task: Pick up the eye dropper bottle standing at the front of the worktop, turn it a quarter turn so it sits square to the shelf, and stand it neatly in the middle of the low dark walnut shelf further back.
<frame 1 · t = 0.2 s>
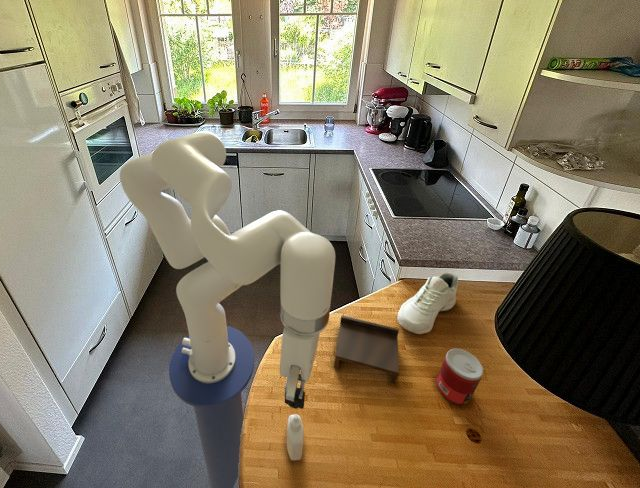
hand: (300, 376, 57), 28 cm above the countertop, tool pointing down, fingers open, 9 cm apart
running shoe: (423, 312, 104), on the countertop
shelf: (365, 355, 91), on the countertop
canned food: (452, 390, 83), on the countertop
eye dropper bottle: (294, 446, 72), on the countertop
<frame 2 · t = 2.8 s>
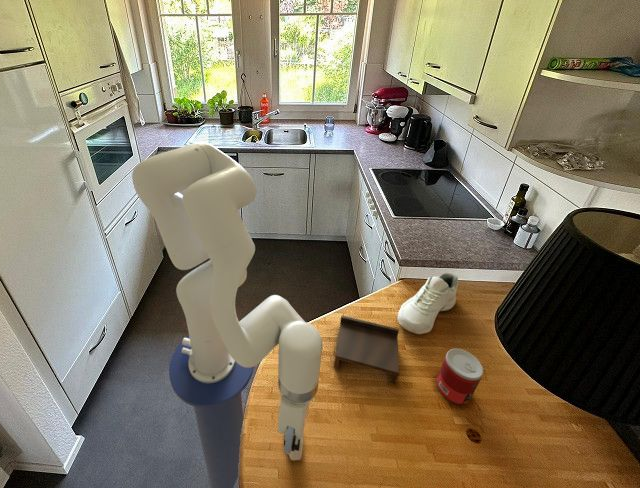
hand: (295, 429, 69), 7 cm above the countertop, tool pointing down, fingers closed on eye dropper bottle, 5 cm apart
eye dropper bottle: (294, 446, 72), on the countertop, touching gripper
everything else where it was.
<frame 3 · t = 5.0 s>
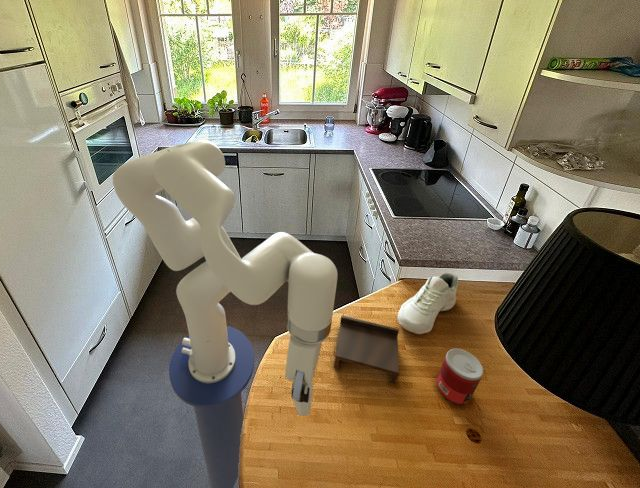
hand: (303, 382, 63), 21 cm above the countertop, tool pointing down, fingers closed on eye dropper bottle, 5 cm apart
eye dropper bottle: (302, 402, 67), point 14 cm above the countertop, touching gripper
everything else where it was.
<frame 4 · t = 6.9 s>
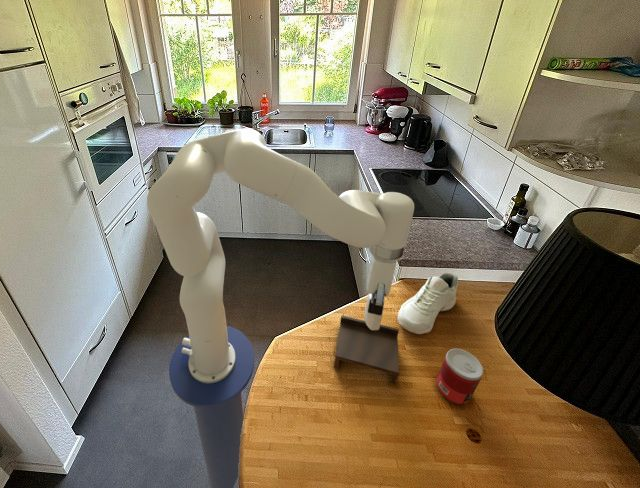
hand: (375, 302, 80), 22 cm above the countertop, tool pointing down, fingers closed on eye dropper bottle, 5 cm apart
eye dropper bottle: (371, 322, 84), point 15 cm above the countertop, touching gripper
everything else where it was.
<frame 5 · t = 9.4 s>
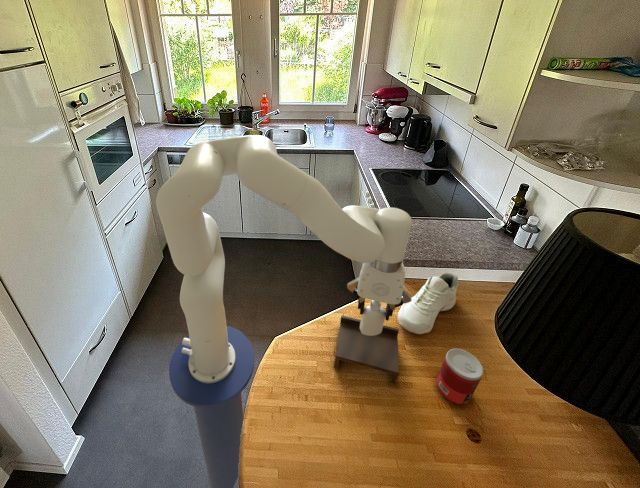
hand: (374, 312, 83), 17 cm above the countertop, tool pointing down, fingers closed on eye dropper bottle, 5 cm apart
eye dropper bottle: (370, 331, 86), point 10 cm above the countertop, touching gripper
everything else where it was.
when the fingers open (12 cm above the countertop, at t = 11.2 s): eye dropper bottle stays where it is, resting on shelf.
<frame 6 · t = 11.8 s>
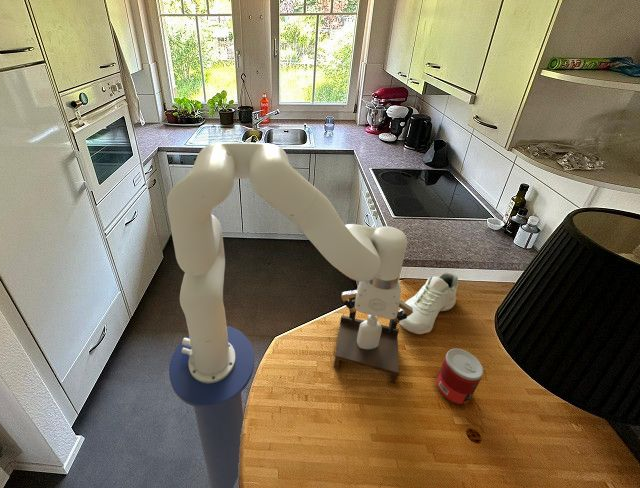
hand: (371, 324, 85), 13 cm above the countertop, tool pointing down, fingers open, 9 cm apart
eye dropper bottle: (367, 344, 89), point 5 cm above the countertop, touching shelf
everything else where it was.
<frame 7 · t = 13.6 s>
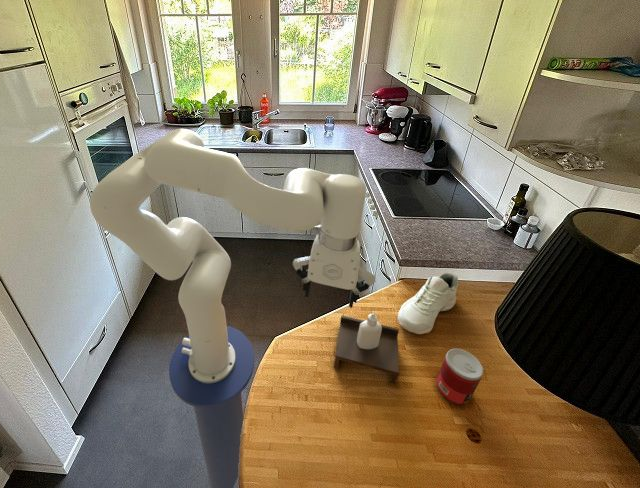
hand: (329, 297, 72), 29 cm above the countertop, tool pointing down, fingers open, 9 cm apart
nothing on the countertop moved.
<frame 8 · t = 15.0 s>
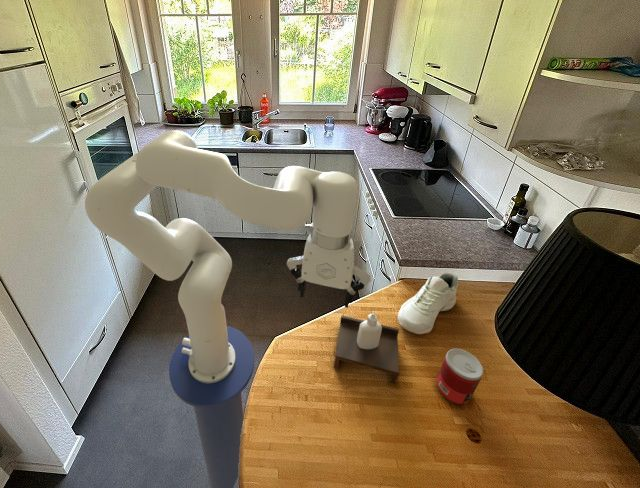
hand: (324, 297, 71), 30 cm above the countertop, tool pointing down, fingers open, 9 cm apart
nothing on the countertop moved.
at the end: eye dropper bottle inside the target area on the shelf (0.1 cm from its centre), point 4.8 cm above the shelf's base; eye dropper bottle tilted 0°; the gripper is holding nothing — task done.
